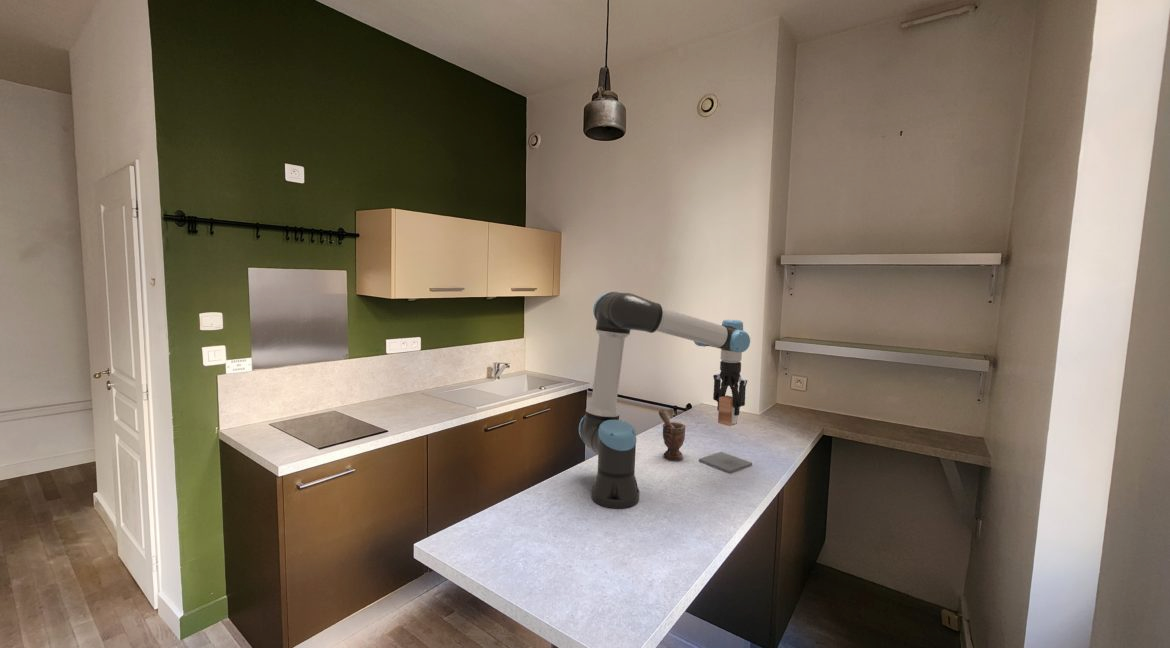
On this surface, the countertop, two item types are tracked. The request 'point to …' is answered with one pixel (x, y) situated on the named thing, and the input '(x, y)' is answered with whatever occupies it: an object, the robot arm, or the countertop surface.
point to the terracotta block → (725, 410)
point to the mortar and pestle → (672, 437)
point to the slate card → (725, 462)
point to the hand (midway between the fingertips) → (727, 421)
